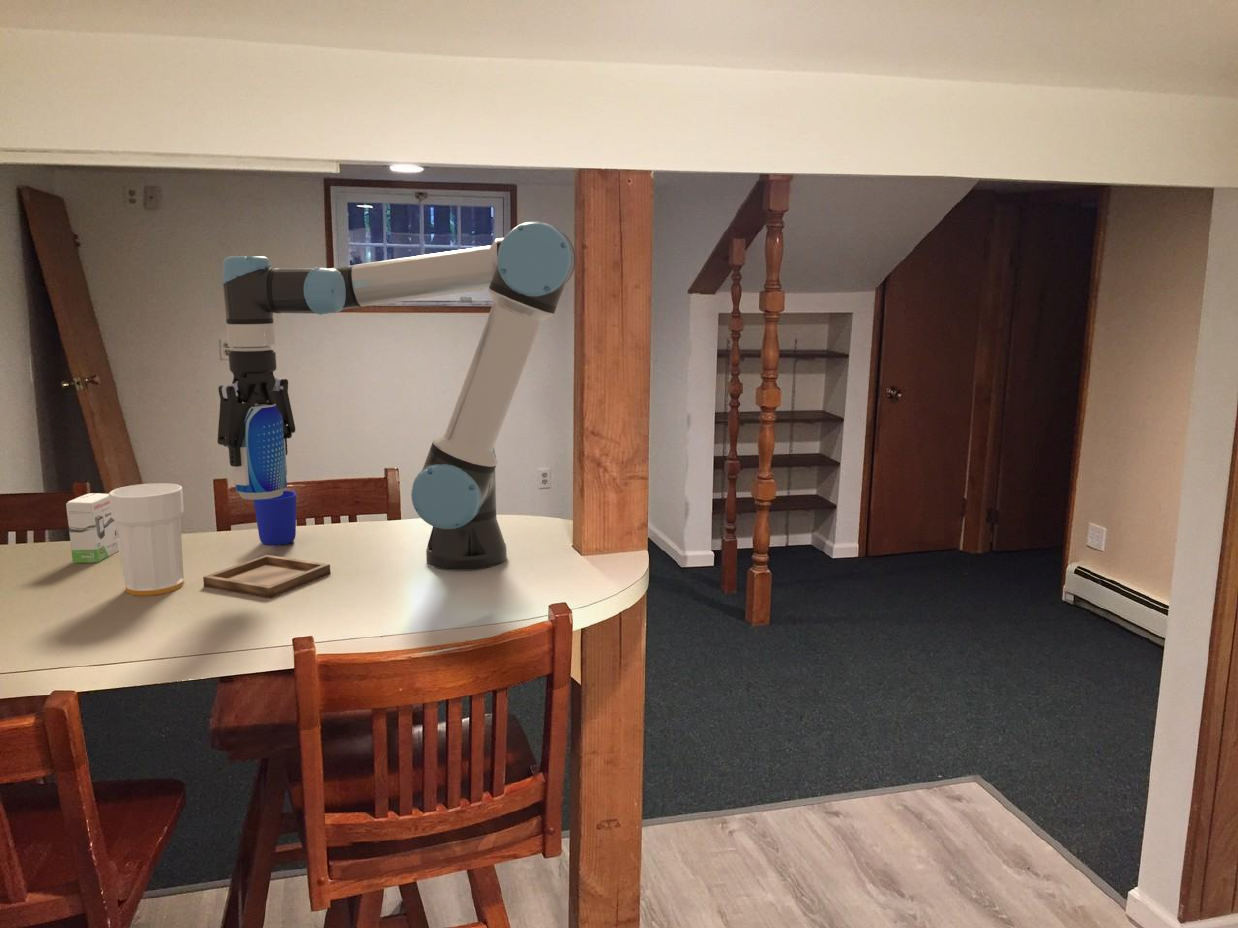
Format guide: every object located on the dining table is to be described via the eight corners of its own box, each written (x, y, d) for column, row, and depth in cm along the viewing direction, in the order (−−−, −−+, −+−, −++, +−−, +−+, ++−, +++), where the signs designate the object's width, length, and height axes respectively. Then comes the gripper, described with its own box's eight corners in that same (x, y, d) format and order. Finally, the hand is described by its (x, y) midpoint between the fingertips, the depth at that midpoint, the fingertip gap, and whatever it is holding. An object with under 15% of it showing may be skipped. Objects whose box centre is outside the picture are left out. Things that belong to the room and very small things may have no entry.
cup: (107, 588, 169) (97, 490, 166) (171, 573, 177) (163, 480, 174) (137, 602, 162) (127, 500, 158) (202, 586, 170) (194, 488, 167)
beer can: (265, 502, 165) (258, 408, 162) (225, 498, 168) (218, 406, 165) (297, 492, 173) (291, 402, 170) (259, 488, 176) (252, 400, 173)
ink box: (97, 563, 184) (91, 502, 182) (71, 563, 184) (64, 502, 182) (120, 550, 192) (114, 492, 190) (95, 550, 192) (89, 492, 190)
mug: (313, 533, 205) (310, 486, 203) (288, 548, 193) (285, 499, 191) (276, 532, 206) (272, 485, 204) (249, 547, 194) (245, 498, 192)
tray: (330, 573, 177) (329, 564, 177) (269, 598, 164) (269, 588, 163) (267, 563, 183) (266, 554, 183) (203, 586, 170) (203, 576, 170)
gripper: (279, 344, 177) (287, 467, 181) (185, 352, 158) (196, 489, 162) (312, 345, 174) (319, 470, 178) (219, 354, 155) (230, 493, 159)
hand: (261, 479), depth 170 cm, fingers closed on beer can, 8 cm apart
